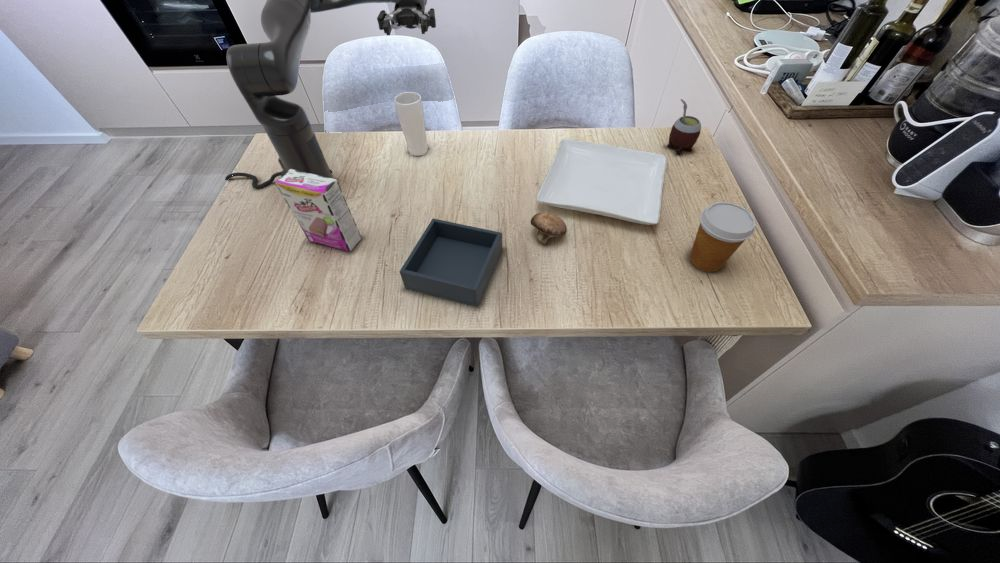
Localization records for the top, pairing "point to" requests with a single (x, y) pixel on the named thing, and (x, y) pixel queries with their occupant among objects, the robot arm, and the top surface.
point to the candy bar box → (320, 209)
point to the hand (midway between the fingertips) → (404, 30)
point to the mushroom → (548, 226)
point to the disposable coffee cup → (720, 234)
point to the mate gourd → (684, 132)
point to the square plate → (605, 181)
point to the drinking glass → (412, 121)
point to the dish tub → (453, 261)
